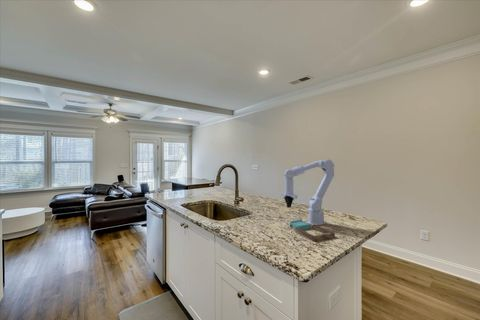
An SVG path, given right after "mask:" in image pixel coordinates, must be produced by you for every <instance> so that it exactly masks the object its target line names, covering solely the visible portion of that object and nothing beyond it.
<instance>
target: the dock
mask: <svg viewBox="0 0 480 320" xmlns="http://www.w3.org/2000/svg"><path fill="white" fill-rule="evenodd" d="M312 229H313V230H314V231H317V232H320V233H321V234H316V235H314V234H311V233H309V232H307V231H305V230H301V229H299V228H295V229H294V232H295V233H296V234H298V235H301V236H302V237H304V238H306V239H308V240H310V241H312V242H319V241H322V240H323V241H324V240H327V239H332V238H335V235H336V234H335V232H334V231H332V230H329V229H326V228H325V227H321V226H320V225H312Z"/></svg>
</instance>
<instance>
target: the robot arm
mask: <svg viewBox="0 0 480 320" xmlns="http://www.w3.org/2000/svg"><path fill="white" fill-rule="evenodd" d="M315 168H320V169H322V171H323V173H324V175H323V178H322V180H321V182H320V184H319V186H318V188H317V190H316V192H315V194H314V195H313V196H312V197H311V199H309V200H308V203H307V205H308V207H309V208H308V221H307V220H306V221H305V222H306V223H308V224H310V226H311V225H312V226H313V225H317V226H323V225H325V224H326V223H325V214H324V211H323V210H322V204H323V199H324V196H325V194H326V192H327V191H328V188H329V187H330V184H331V182H332V181H333V178H334V177H335V163H334V162H333V161H332V160H331V159H324V158H323V159H320V160H316V161H312V162H311V163H308V164H306V165H301V164H300V165H299V164H298V165H297V166H295V167H291V168H290V169H286V170H285V171H284V173H283V174H284V191H282V192H281V196H283V199H284V201H285V203H286V207H287V208H292V203H293V201H294V200H295V199H298V195H296V194H294V177H297V176H299V175H302V174H303V175H304V174H305V172H306V171H308V170H311V169H315Z"/></svg>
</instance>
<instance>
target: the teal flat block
mask: <svg viewBox="0 0 480 320" xmlns="http://www.w3.org/2000/svg"><path fill="white" fill-rule="evenodd" d="M306 222H307V221H303V219H301V218H297V219H294V220H292V219H291V220H289V227H290V228H291V229H294V230H295V228H299V229H301V230H303V231H305V230H310V229H311V228H310V226H311V224H309V223H306Z"/></svg>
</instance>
